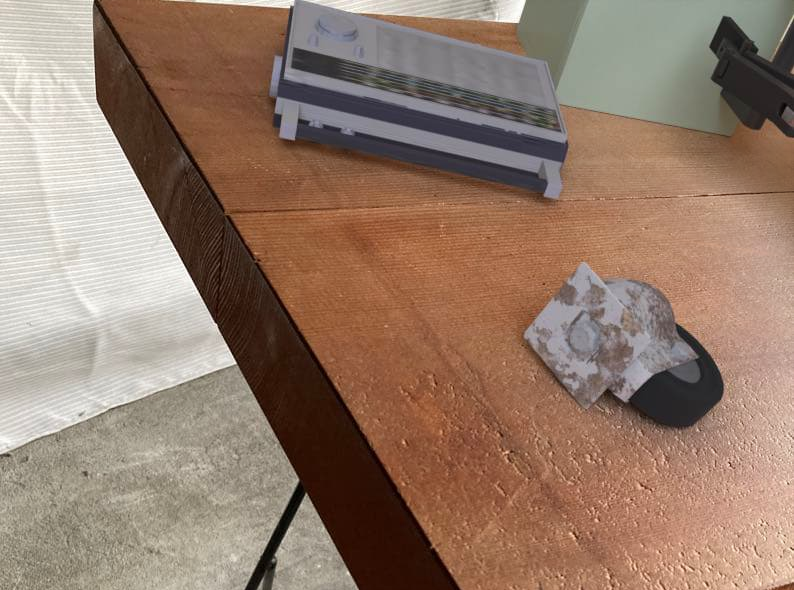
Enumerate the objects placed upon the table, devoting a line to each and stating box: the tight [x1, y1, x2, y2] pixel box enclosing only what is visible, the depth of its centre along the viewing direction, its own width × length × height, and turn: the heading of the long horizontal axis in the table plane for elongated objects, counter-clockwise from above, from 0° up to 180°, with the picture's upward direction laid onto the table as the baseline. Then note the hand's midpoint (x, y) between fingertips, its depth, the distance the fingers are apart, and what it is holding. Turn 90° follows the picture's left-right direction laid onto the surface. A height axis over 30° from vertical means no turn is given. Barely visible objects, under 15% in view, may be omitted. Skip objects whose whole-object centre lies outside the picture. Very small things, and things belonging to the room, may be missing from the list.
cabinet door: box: [554, 0, 794, 137], centre depth 88 cm, size 8×20×22 cm, turn 98°
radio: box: [268, 0, 570, 200], centre depth 83 cm, size 24×5×20 cm
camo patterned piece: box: [523, 261, 725, 429], centre depth 64 cm, size 7×11×10 cm
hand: (785, 46), depth 89 cm, fingers open, 13 cm apart
